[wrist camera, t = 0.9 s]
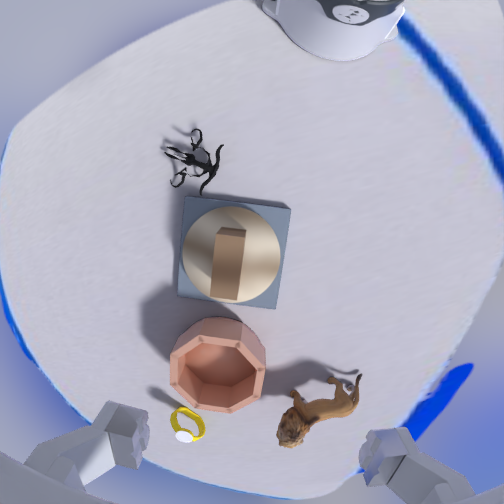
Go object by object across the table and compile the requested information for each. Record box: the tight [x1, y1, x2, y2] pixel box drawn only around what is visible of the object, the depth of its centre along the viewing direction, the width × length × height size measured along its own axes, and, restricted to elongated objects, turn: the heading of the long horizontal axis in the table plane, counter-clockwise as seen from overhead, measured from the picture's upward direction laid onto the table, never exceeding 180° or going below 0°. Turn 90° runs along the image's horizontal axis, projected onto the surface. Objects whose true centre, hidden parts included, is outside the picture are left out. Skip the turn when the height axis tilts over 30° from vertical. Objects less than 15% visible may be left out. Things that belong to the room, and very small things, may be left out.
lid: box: [182, 206, 280, 303], centre depth 37 cm, size 12×12×6 cm
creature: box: [164, 129, 224, 196], centre depth 36 cm, size 8×5×8 cm
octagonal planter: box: [170, 317, 266, 414], centre depth 41 cm, size 12×12×6 cm
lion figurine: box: [276, 374, 362, 448], centre depth 41 cm, size 15×5×9 cm, turn 119°
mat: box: [177, 196, 291, 309], centre depth 40 cm, size 13×13×1 cm
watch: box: [170, 407, 206, 443], centre depth 44 cm, size 6×3×6 cm, turn 47°
